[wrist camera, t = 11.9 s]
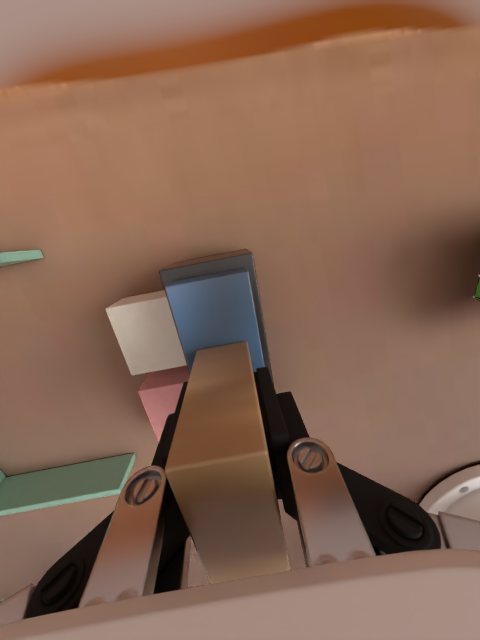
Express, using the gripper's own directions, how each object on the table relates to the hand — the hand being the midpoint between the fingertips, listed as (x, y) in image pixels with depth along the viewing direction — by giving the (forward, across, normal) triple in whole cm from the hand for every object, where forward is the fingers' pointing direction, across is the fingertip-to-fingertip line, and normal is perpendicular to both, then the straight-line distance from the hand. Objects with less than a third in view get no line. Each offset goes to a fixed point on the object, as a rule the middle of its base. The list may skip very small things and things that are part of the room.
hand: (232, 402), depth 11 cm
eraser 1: (+6, +4, -2) cm, 8 cm away
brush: (+6, 0, 0) cm, 6 cm away
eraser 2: (+6, +4, +3) cm, 8 cm away
